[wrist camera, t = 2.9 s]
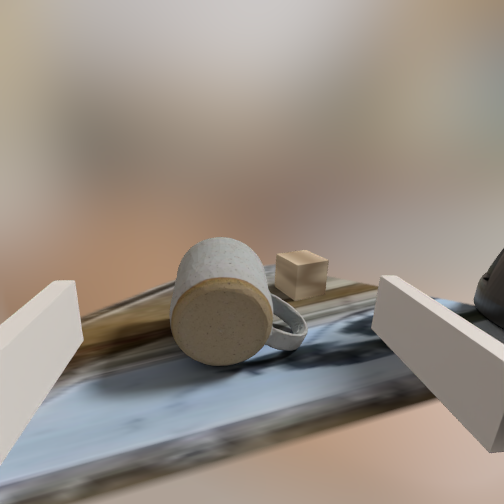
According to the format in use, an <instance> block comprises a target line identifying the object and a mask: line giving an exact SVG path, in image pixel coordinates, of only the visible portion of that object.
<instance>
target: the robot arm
mask: <svg viewBox="0 0 504 504" xmlns="http://www.w3.org/2000/svg"><path fill="white" fill-rule="evenodd" d="M474 304H475V306H476V307H477V309H478V310H479V311H480V312H481V313H482V314H483V315H484V316H485V317H487V318H488V319H489V320H491V321H492V322H494V323H495V324H497V325H498V326H500V327H502V328H503V329H504V249H503V250H502V251H501V252H500V254H499V255H498V256H497V258H496V260H495V261H494V262H493V264H492V265H491V266H490V268H489V270H488V272H487V273H485V274H484V275H483V276H482V277H481V279H480V281H479V283H478V286H477V290H476V293H475V297H474ZM371 329H372V330H373V331H374V332H375V333H376V334H377V335H378V336H379V337H380V338H381V339H382V340H383V341H384V342H385V343H386V344H387V345H388V347H389V348H390V349H391V350H392V351H393V352H394V353H395V354H396V355H397V356H398V357H399V358H400V359H401V360H402V361H403V362H404V363H405V364H406V366H407V367H408V368H409V369H410V370H411V371H412V372H413V373H414V374H415V375H416V376H417V377H418V378H419V379H420V380H421V381H422V382H423V383H424V384H425V386H426V387H427V388H428V389H429V390H430V391H431V392H432V393H433V394H434V395H435V396H436V397H437V398H438V399H439V400H440V401H441V402H442V403H443V405H444V406H445V407H446V408H447V409H448V410H449V411H450V412H451V413H452V414H453V415H454V416H455V417H456V418H457V419H458V420H459V421H460V422H461V423H462V425H464V427H465V428H466V429H467V430H468V431H469V432H470V433H471V434H472V435H473V436H474V437H475V438H476V439H477V440H478V441H479V442H480V443H481V444H482V445H483V447H484V448H486V450H487V451H488V452H489V453H496V452H504V344H503V343H502V342H501V341H500V340H498V339H497V338H495V337H493V336H492V335H490V334H489V333H487V332H484V331H482V330H481V329H479V328H478V327H476V326H474V325H473V324H471V323H470V322H468V321H467V320H465V319H463V318H462V317H460V316H459V315H457V314H456V313H454V312H452V311H451V310H449V309H448V308H446V307H445V306H443V305H441V304H440V303H438V302H437V301H435V300H434V299H432V298H430V297H429V296H427V295H426V294H424V293H422V292H421V291H419V290H418V289H416V288H415V287H413V286H412V285H410V284H409V283H407V282H405V281H404V280H402V279H401V278H399V277H398V276H395V275H391V276H381V277H380V282H379V287H378V293H377V299H376V304H375V310H374V316H373V321H372V327H371ZM82 342H83V335H82V328H81V320H80V314H79V307H78V299H77V292H76V285H75V281H74V280H66V281H53V282H52V283H51V284H49V285H48V286H47V287H46V288H45V289H43V290H42V291H41V292H40V293H39V294H37V295H36V296H35V297H34V298H33V299H31V300H30V301H29V302H28V303H26V304H25V305H24V306H23V307H22V308H21V309H19V310H18V311H17V312H16V313H14V314H13V315H12V316H11V317H10V318H8V319H7V320H6V321H5V322H3V323H2V324H1V325H0V465H1V464H2V462H3V461H4V459H5V458H6V456H7V455H8V453H9V452H10V450H11V449H12V447H13V446H14V444H15V443H16V441H17V440H18V438H19V437H20V435H21V434H22V432H23V431H24V429H25V428H26V426H27V425H28V423H29V422H30V420H31V419H32V417H33V416H34V414H35V413H36V411H37V410H38V408H39V407H40V405H41V404H42V402H43V400H44V399H45V397H46V396H47V394H48V393H49V391H50V390H51V388H52V387H53V385H54V384H55V382H56V381H57V379H58V378H59V376H60V375H61V373H62V372H63V370H64V369H65V367H66V366H67V364H68V363H69V361H70V360H71V358H72V357H73V355H74V354H75V352H76V351H77V349H78V348H79V346H80V345H81V343H82Z"/></svg>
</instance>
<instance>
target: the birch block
mask: <svg viewBox="0 0 504 504" xmlns="http://www.w3.org/2000/svg"><path fill="white" fill-rule="evenodd" d="M328 262H329V261H328V260H327V259H325V258H322V257H320V256H318V255H315V254H313V253H311V252H309V251H307V250H302V251H294V252H287V253H280V254H277V255H276V271H275V287H276V288H277V289H279V290H280V291H282V292H283V293H284V294H286V295H287V296H289V297H290V298H291V299H293V300H294V301H297V300H302V299H306V298H310V297H315V296H319V295H324V294H325V289H326V280H327V271H328Z"/></svg>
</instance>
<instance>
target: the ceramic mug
mask: <svg viewBox="0 0 504 504" xmlns="http://www.w3.org/2000/svg"><path fill="white" fill-rule="evenodd" d="M273 314H275V315H276V316H278V317H279V318H280V319H282V320H283V321H284V322H285V323H287V324H288V325H289V326H290V327H291V329H292V332H293V334H291V333H288V332H284V331H282V330H279V329H276V328H273V326H272V323H273ZM170 324H171V331H172V334H173V337H174V339H175V342H176V343H177V345H178V346H179V347H180V349H181V350H182V351H183V352H184V353H185V354H186V355H187V356H189V357H191V358H192V359H194V360H196V361H198V362H201V363H204V364H207V365H212V366H227V365H232V364H236V363H239V362H242V361H245V360H247V359H249V358H251V357H252V356H254V355H255V354H256V353H257V352H258V351H259V350H260V349H261V348H262V347H263V346H264V345H268V346H270V347H272V348H275V349H278V350H287V351H292V350H295V349H297V348H298V347H299V346H300V345H301V343H302V342H303V340H304V338H305V336H306V335H307V331H308V328H307V324H306V322H305V320H304V319H303V317H302V316H301V315H300V314H299V313H298V312H297V311H296V310H295V309H294V308H293V307H292V306H291V305H289V304H288V303H287V302H285V301H283V300H282V299H280V298H279V297H277V296H276V295H274V294H271V293H270V292H269V289H268V285H267V280H266V276H265V271H264V268H263V265H262V263H261V261H260V259H259V257H258V256H257V255H256V253H255V252H254V251H253V250H252V249H251V248H250V247H248V246H247V245H245V244H244V243H242V242H240V241H237V240H235V239H231V238H225V237H217V238H210V239H207V240H204V241H201V242H199V243H198V244H196V245H194V246H193V247H192V248H190V249H189V251H188V252H187V253H186V254H185V255H184V257H183V259H182V261H181V263H180V265H179V268H178V273H177V278H176V282H175V287H174V293H173V297H172V301H171V305H170Z"/></svg>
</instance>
